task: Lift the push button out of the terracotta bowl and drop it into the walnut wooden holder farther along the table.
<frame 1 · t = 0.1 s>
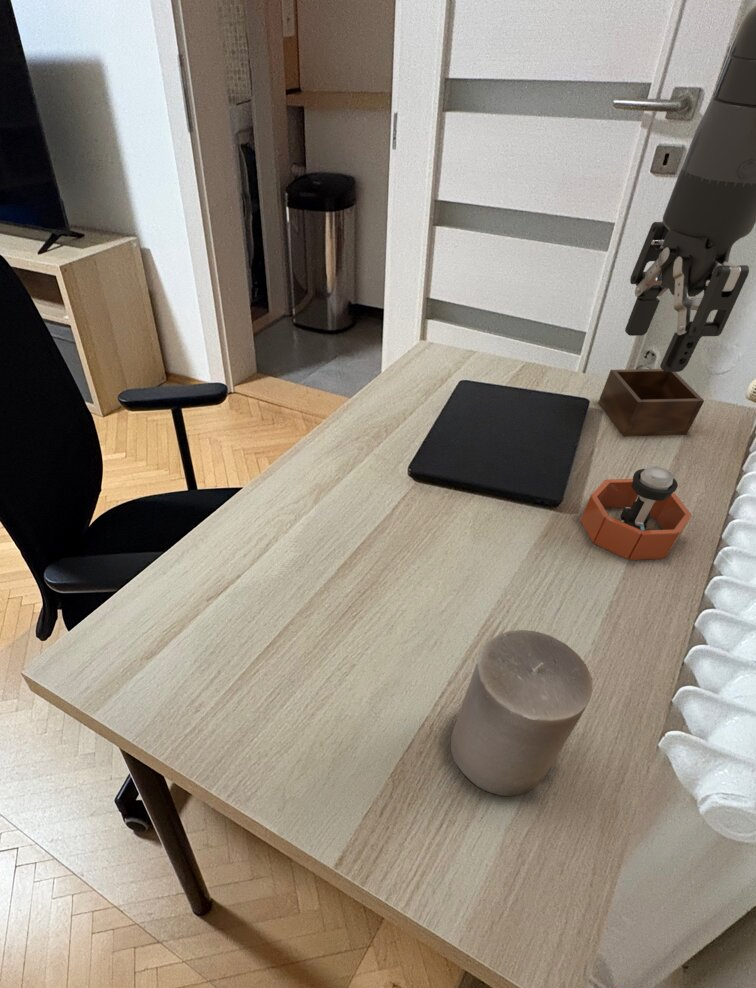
hand: (651, 351, 65), 27 cm above the table, tool pointing down, fingers open, 8 cm apart
bowl: (627, 530, 87), on the table
push button: (627, 531, 87), on the table
pillar candle: (496, 753, 63), on the table
holder: (640, 418, 108), on the table
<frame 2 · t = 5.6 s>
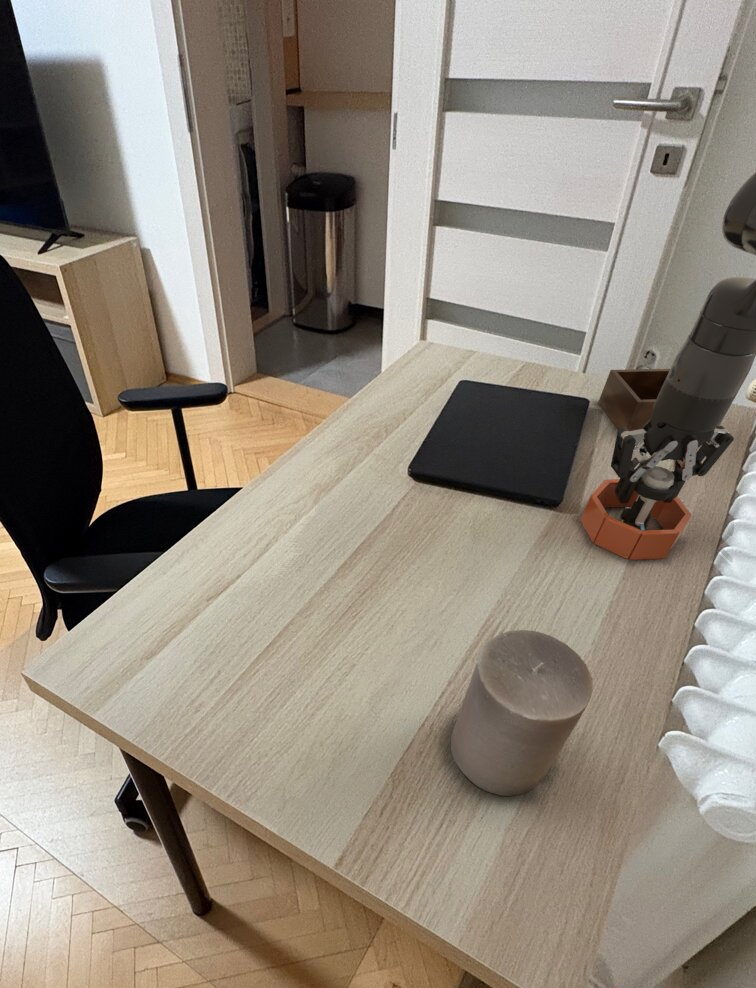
hand: (643, 499, 83), 5 cm above the table, tool pointing down, fingers closed on push button, 5 cm apart
push button: (627, 531, 87), on the table, touching gripper
everything else where it was.
when the fingers open (6 cm above the table, at t = 14.9 s): push button stays where it is, resting on holder.
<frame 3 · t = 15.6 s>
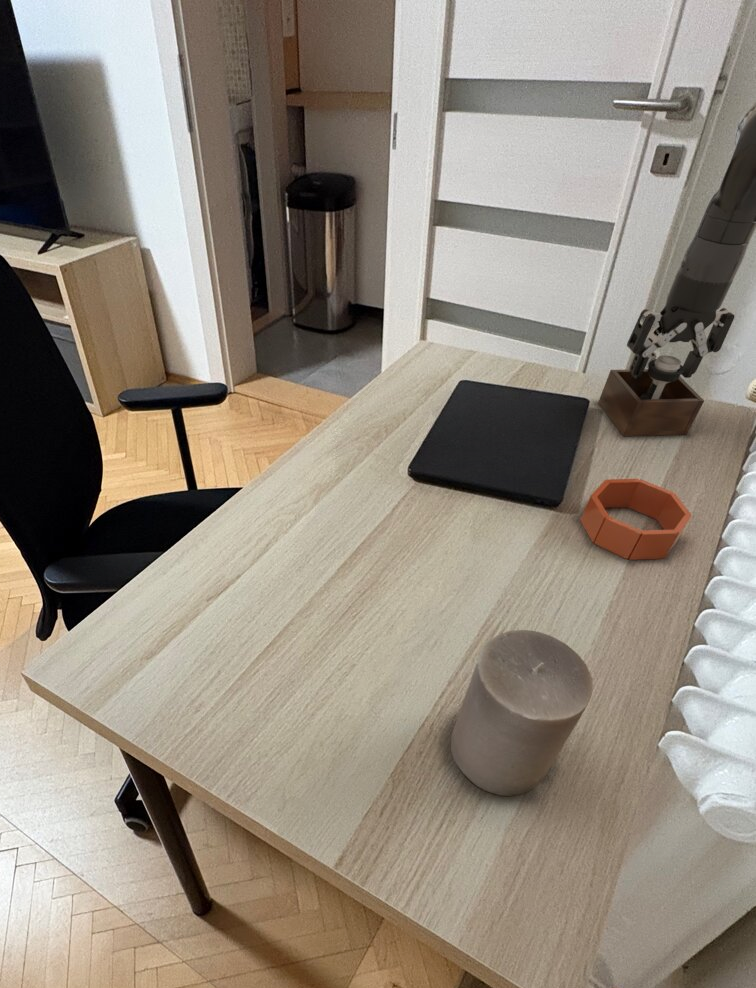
hand: (660, 376, 102), 8 cm above the table, tool pointing down, fingers open, 8 cm apart
push button: (642, 415, 107), point 1 cm above the table, touching holder
everything else where it was.
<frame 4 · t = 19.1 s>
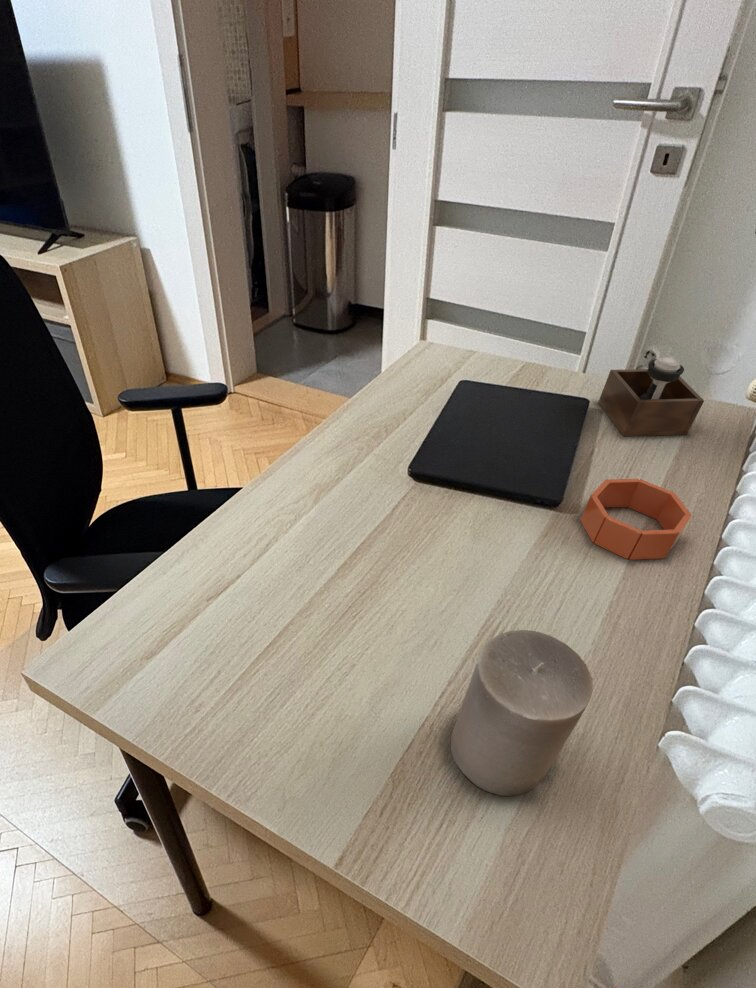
nothing on the table moved.
at the end: push button inside the target area in the holder (0.1 cm from its centre), point 0.6 cm above the holder's base; the gripper is holding nothing; push button tilted 0° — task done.
